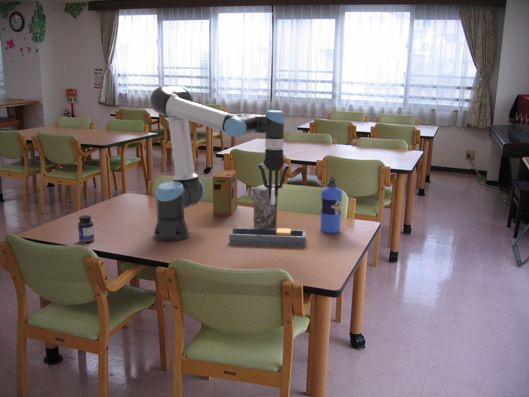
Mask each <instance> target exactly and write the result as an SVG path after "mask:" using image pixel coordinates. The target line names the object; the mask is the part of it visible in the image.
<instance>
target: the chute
mask: <svg viewBox="0 0 529 397" xmlns="http://www.w3.org/2000/svg"><path fill="white" fill-rule="evenodd" d="M276 231H277V228H269V229H258V228H254V227H253V228H252V227H232V233H229V235H228V236H229V239H228V241H229V242H228V245H239V246H265V247H286V248H287V247H290V248H305V247H306V235H307V234H306V230H305V229H291V236H278V235H276Z"/></svg>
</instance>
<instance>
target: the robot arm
mask: <svg viewBox="0 0 529 397" xmlns="http://www.w3.org/2000/svg"><path fill="white" fill-rule="evenodd" d="M192 93H193V92H192V91H191V90H190V89H189V88H187V87H185V86H183V85H169V86H167V85H166V86H159V87H157V88H155V89H154V90H153V91H152V92H151V93H150V98H149V102H150V104H149V105H150V106H151V108H152V111H154V112H156V113H157V114H159V115H162V116H163V117H164V119H165V120H166V121H168V127H169V133H170V134H169V135H170V141H171V142H170V143H171V148H172V149H171V150H172V151H171V152H172V158H173V164H174V172H175V173H174V174H175V175H174V176H173V178H172V181H168V182H162V183H161V184H159V185H158V186H157V187H156V191H155V192H156V193H155V197H156V215H157V217H156V218H157V219H156V223H155V228H154V229H153V237H154V239H155V238H156V240H157V241H161V242H162V241H163V242H176V241H182V240H185V239H187V238H188V237H189V236H190V234H189V227H188V225H187V223H186V220H185V209H187V208H190V207H192V206H195V205H197V204H198V203H199V202H202V200H203V198H204V196H205V191H206V190H205V185H204V183H203V182H202V181H201V180H200V179H199V175H198V174H197V173H196V172H195V167H194V166H195V165H194V159H193V157H194V156H193V150H192V140H191V133H190V123H189V121H190V122H193V123H196V124H199V125H202V126H206V127H208V128H211V129H215V130H218V131H221V132H225V134H226V135H228V136H229V137H230V138H231V137H232V138H239V137H241V136H245V135H249V134H254V133H255V134H258V133H259V134H265V139H264V140H265V142H264V145H265V146H264V147H265V150H264V160H263V162H262V163H259V164H258V169H259V170H260V173H261V176H262V180H263V181H262V182H263V184H264V187H266V188H268V189H269V196H271V205H275V197H277V196H278V197H279V195H278V194H279V189H282V187H283V185H284V180H285V178H286V174H287V171H288V170H289V168H290V165H288V164H286V163H285V160H284V149H283V148H284V142H285V141H284V140H285V138H284V134H285V113H284V111H282V110H279V109H278V110H272V109H271V110H269V109H268V110H267V111H266V112H265V114H254V113H241V114H240V115H234V114H232V113H228V112H225V111H223V110H219V109H216V108H212V107H209V106H207V105H203V104H200V103H197V102H195V99H194V95H193V94H192ZM265 167H266V168H267V170H268V179H267V175H266V170H265ZM282 167H283V168H282ZM281 168H282V169H283V171H282V174H281V175H282V176H281V178H280V182H279V171H280V170H281ZM273 172H274V185H275V188H272V184H273ZM267 183H269V185H268V184H267Z"/></svg>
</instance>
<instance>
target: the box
mask: <svg viewBox="0 0 529 397" xmlns="http://www.w3.org/2000/svg"><path fill="white" fill-rule="evenodd" d="M212 205H213V208H212V211H213V213H212V214H213V216H215V217H217V216H218V217H232V216H233V214H234V213H235V211H236V210H237V209H238V170H227V169H226V170H225V169H224V170H221V169H220V170H218V172H216V173H215V174H214V175H213V176H212Z"/></svg>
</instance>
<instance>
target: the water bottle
mask: <svg viewBox="0 0 529 397" xmlns="http://www.w3.org/2000/svg"><path fill="white" fill-rule="evenodd" d="M336 181H337V179H336V178H335V177H333V176H331V177H329V178H327V181H326V185H327V186H326V187H324V188H322V189H321V190H320V191H321V193H320V198H321V210H320V226H319V227H320V232H321V233H322V234H327V235H328V234H329V235H335V234H339V233H341V220H342V219H341V217H342V215H341V214H342V211H341V203H342V198H343V190H342V189H340V188H338V187H337V185H338V184H337V182H336Z"/></svg>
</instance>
